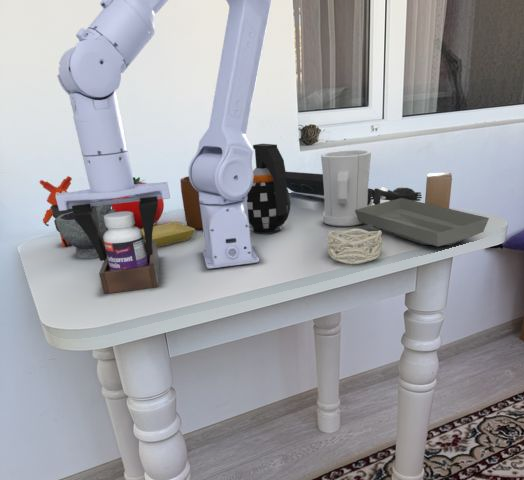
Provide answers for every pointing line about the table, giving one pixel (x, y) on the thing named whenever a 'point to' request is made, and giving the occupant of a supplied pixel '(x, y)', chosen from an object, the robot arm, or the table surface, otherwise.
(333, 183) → the cup
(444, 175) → the wooden block
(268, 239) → the table surface
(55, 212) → the toy animal
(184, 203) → the mug
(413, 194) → the figurine
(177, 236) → the saucer
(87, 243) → the mortar and pestle
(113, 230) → the pill bottle
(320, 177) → the smart home device
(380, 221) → the grey tray
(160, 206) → the tomato
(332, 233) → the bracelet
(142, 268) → the rack
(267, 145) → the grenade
